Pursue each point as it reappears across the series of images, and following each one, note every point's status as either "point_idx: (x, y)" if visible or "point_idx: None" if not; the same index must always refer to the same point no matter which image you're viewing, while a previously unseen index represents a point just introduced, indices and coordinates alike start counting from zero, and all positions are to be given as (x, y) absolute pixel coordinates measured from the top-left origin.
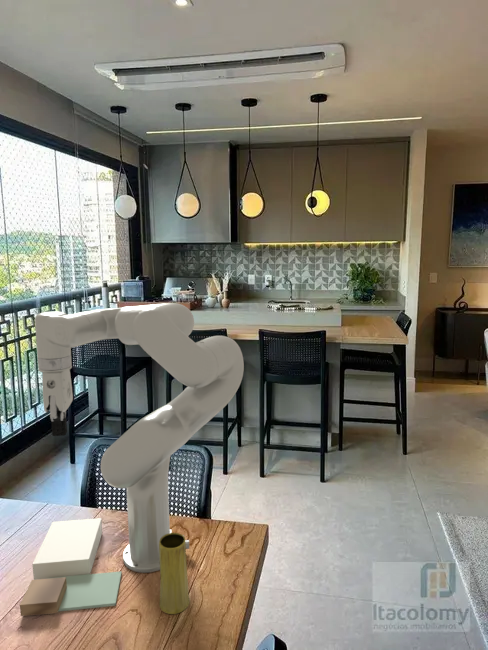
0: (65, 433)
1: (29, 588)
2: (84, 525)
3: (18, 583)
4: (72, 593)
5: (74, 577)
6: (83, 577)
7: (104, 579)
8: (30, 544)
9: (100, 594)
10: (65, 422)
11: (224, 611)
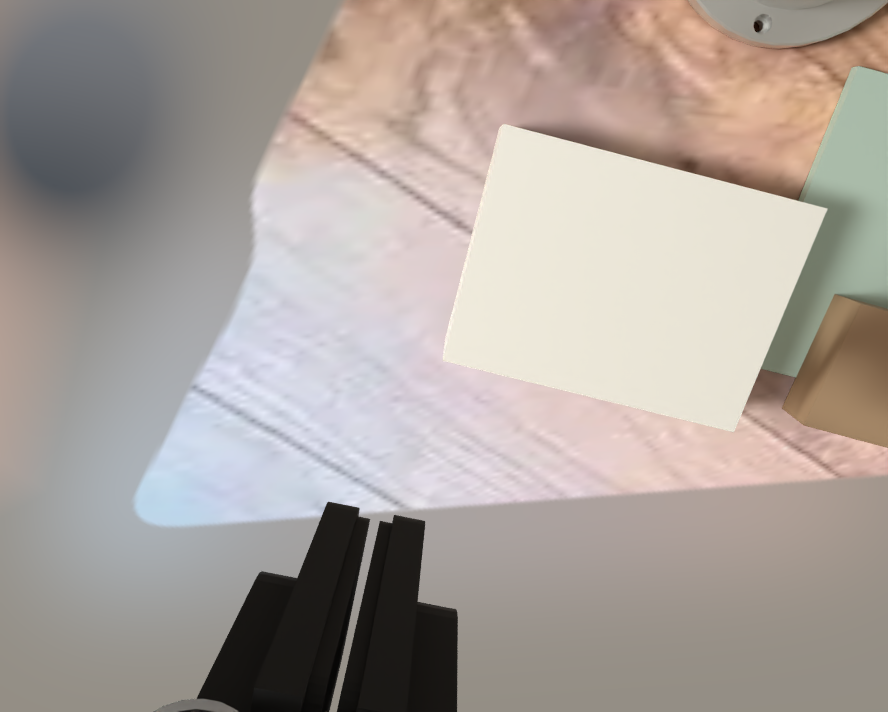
0: (422, 531)
1: (850, 431)
2: (538, 215)
3: (695, 451)
4: (881, 274)
5: None
6: None
7: (869, 146)
8: (467, 424)
9: None
10: (371, 649)
11: None
